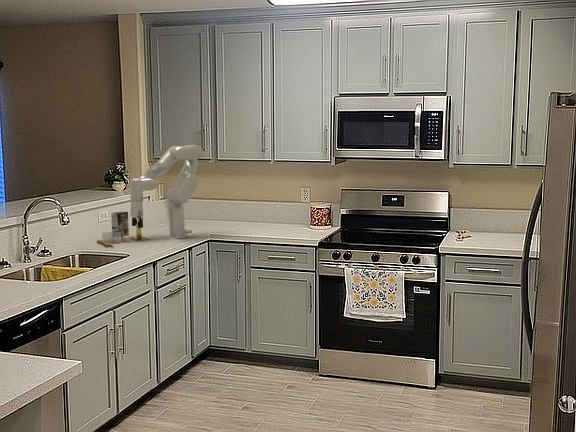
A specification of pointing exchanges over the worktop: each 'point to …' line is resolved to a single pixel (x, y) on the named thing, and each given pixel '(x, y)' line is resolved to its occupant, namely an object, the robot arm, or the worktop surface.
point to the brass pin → (138, 232)
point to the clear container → (113, 236)
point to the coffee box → (120, 222)
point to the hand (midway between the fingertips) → (137, 226)
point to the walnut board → (126, 240)
